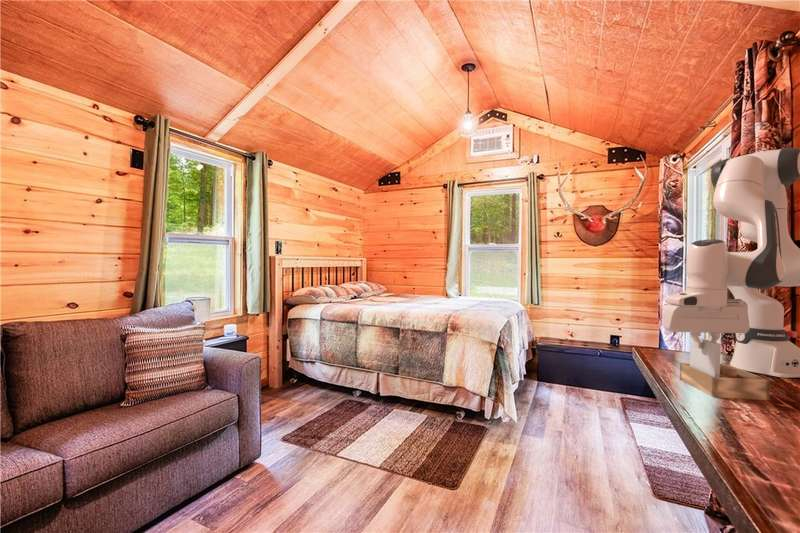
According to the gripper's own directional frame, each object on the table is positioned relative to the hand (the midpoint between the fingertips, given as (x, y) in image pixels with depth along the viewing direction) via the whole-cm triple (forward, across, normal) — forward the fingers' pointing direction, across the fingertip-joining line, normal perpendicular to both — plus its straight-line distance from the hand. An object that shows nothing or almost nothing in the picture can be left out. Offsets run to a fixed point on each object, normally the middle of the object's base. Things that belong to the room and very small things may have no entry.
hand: (704, 348), depth 102 cm
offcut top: (+7, -4, 0) cm, 8 cm away
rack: (+12, -5, 0) cm, 13 cm away
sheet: (+11, 0, 0) cm, 11 cm away
